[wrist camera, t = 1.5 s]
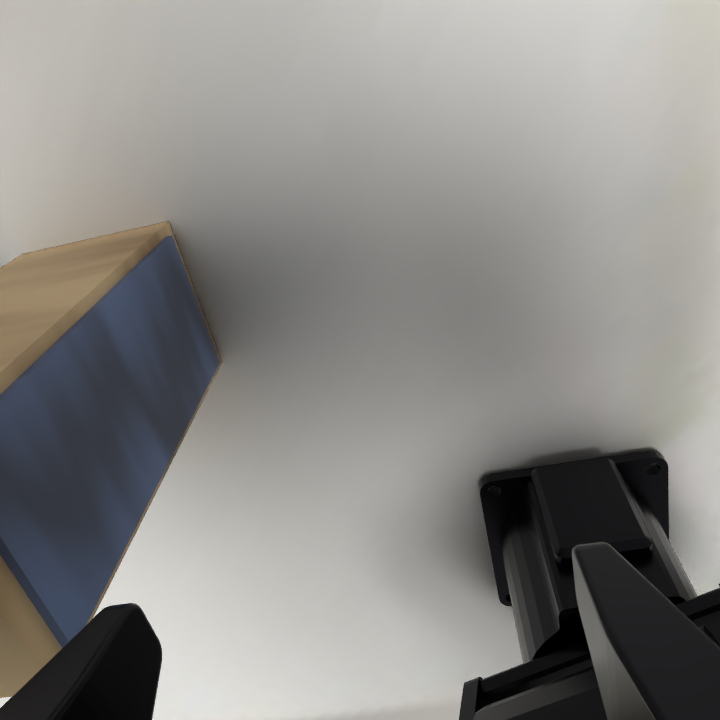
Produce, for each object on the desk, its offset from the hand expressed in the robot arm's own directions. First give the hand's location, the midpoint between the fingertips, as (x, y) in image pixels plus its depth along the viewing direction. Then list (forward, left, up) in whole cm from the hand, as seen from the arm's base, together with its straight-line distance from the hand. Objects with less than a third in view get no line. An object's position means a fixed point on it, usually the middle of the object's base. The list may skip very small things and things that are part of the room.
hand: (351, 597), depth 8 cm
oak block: (0, +8, -13) cm, 16 cm away
